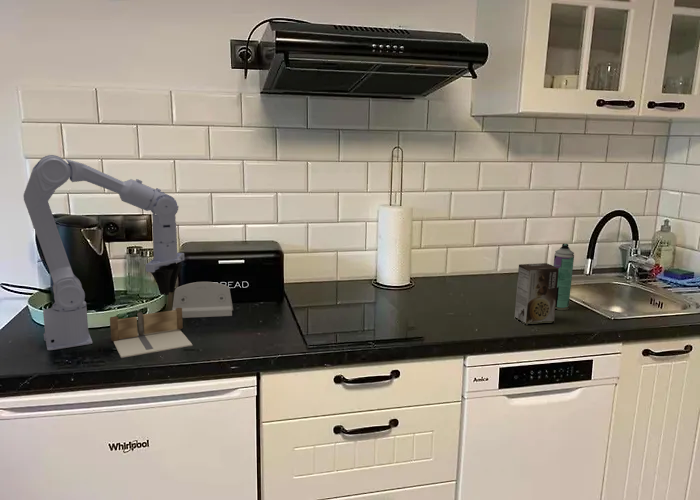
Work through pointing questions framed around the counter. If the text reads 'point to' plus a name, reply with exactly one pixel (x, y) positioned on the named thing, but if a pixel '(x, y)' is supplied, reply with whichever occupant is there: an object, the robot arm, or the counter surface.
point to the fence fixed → (123, 328)
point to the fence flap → (159, 321)
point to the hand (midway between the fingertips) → (167, 293)
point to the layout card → (152, 343)
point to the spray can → (563, 275)
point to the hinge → (203, 300)
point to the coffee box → (536, 292)
